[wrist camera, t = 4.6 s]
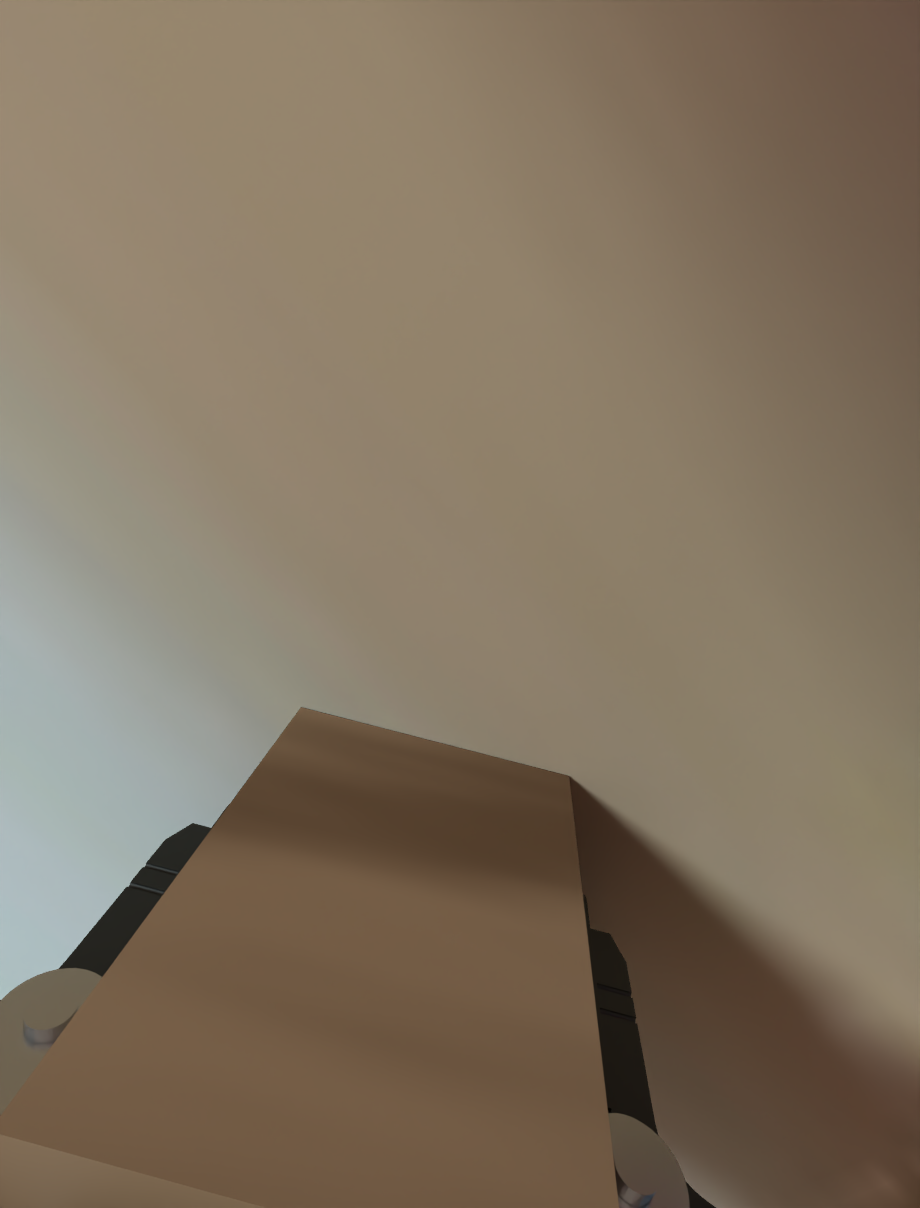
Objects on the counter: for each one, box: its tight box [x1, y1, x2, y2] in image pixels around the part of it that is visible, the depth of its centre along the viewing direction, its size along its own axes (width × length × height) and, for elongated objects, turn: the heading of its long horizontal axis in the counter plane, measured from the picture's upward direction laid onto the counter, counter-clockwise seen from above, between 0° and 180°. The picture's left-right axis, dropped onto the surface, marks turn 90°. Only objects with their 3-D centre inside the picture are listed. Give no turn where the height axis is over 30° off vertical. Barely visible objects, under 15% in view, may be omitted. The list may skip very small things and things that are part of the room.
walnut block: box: [0, 707, 619, 1208], centre depth 9 cm, size 5×5×7 cm
